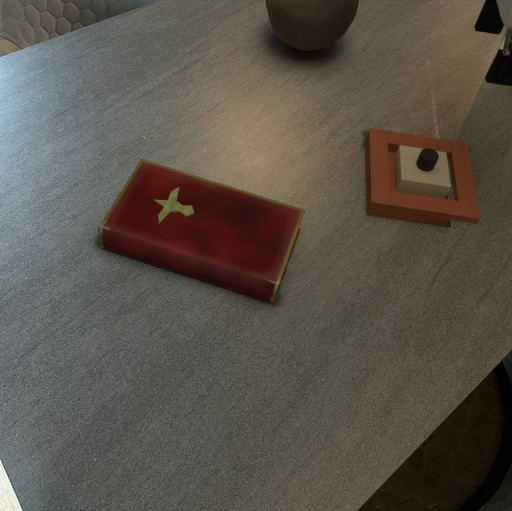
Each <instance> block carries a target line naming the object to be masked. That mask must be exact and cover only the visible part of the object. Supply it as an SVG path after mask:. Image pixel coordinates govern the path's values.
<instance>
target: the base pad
mask: <svg viewBox="0 0 512 511" xmlns="http://www.w3.org/2000/svg"><path fill="white" fill-rule="evenodd" d="M399 145H403V146H409V147H415V148H422V149H425V148H430V149H433V150H435V151H441V152H446V153H447V159H449V168H450V174H451V181H452V190H453V196H454V199H449V198H448V194H447V195H446V197H445V199H441V198H434V197H428V196H421V195H415V194H408V193H402V192H396V179H395V162H394V157H395V155H396V153H397V150H398V148H399ZM364 155H365V156H364V159H365V166H364V167H365V211H366V212H365V214H366V215H367V216H372V217H380V218H386V219H393V220H399V221H406V222H410V223H411V222H412V223H420V224H426V225H432V226H438V227H444V228H452V222H451V221H455V222H456V221H458V222H464V223H470V224H477V223H478V222H479V220H480V219H481V218H480V212H479V206H478V200H477V193H476V187H475V182H474V181H475V180H474V175H473V170H472V163H471V156H470V150H469V145H468V143H467V142H461V141H456V140H450V139H449V140H448V139H442V138H435V137H429V136H423V135H416V134H411V133H404V132H397V131H391V130H387V129H386V130H385V129H381V128H380V129H379V128H373V127H369V128H368V130H367V134H366V137H365V140H364Z"/></svg>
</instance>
